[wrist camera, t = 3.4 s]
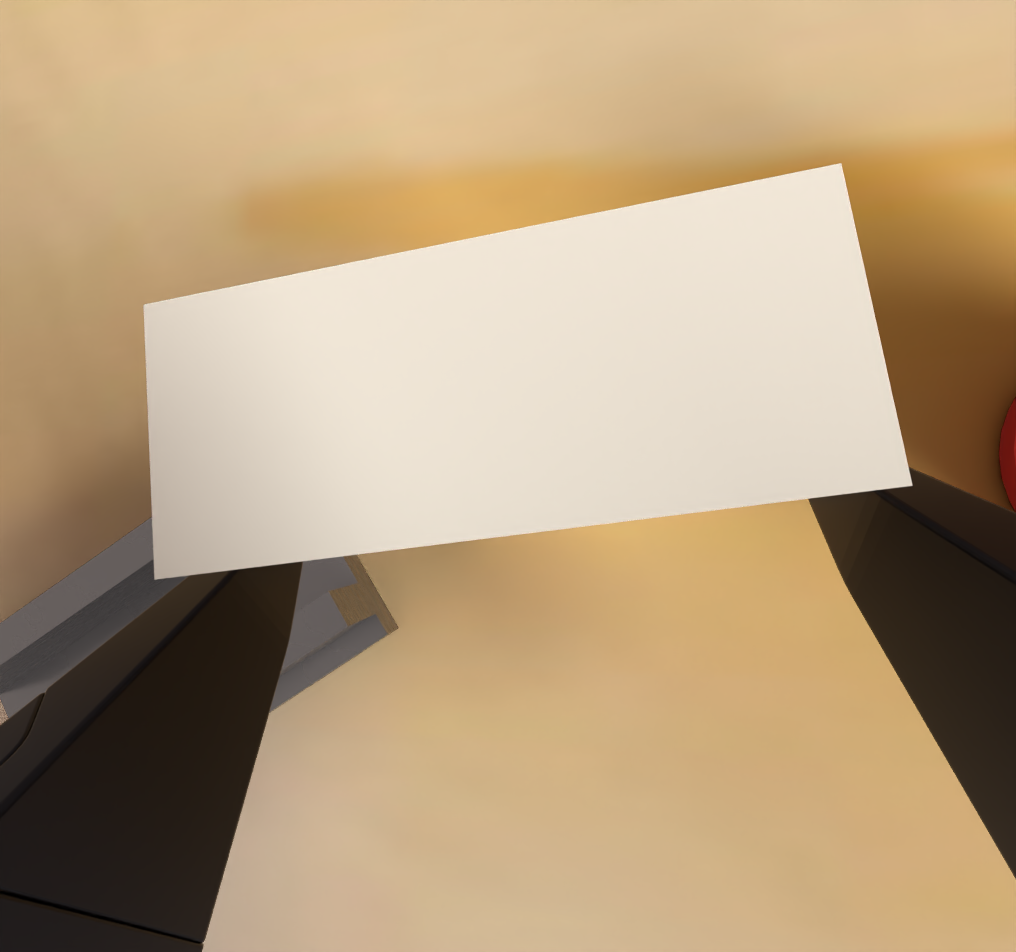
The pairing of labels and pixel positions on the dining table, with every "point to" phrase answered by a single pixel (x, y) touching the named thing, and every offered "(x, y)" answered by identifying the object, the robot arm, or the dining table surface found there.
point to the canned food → (1009, 454)
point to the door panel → (524, 383)
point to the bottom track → (132, 589)
